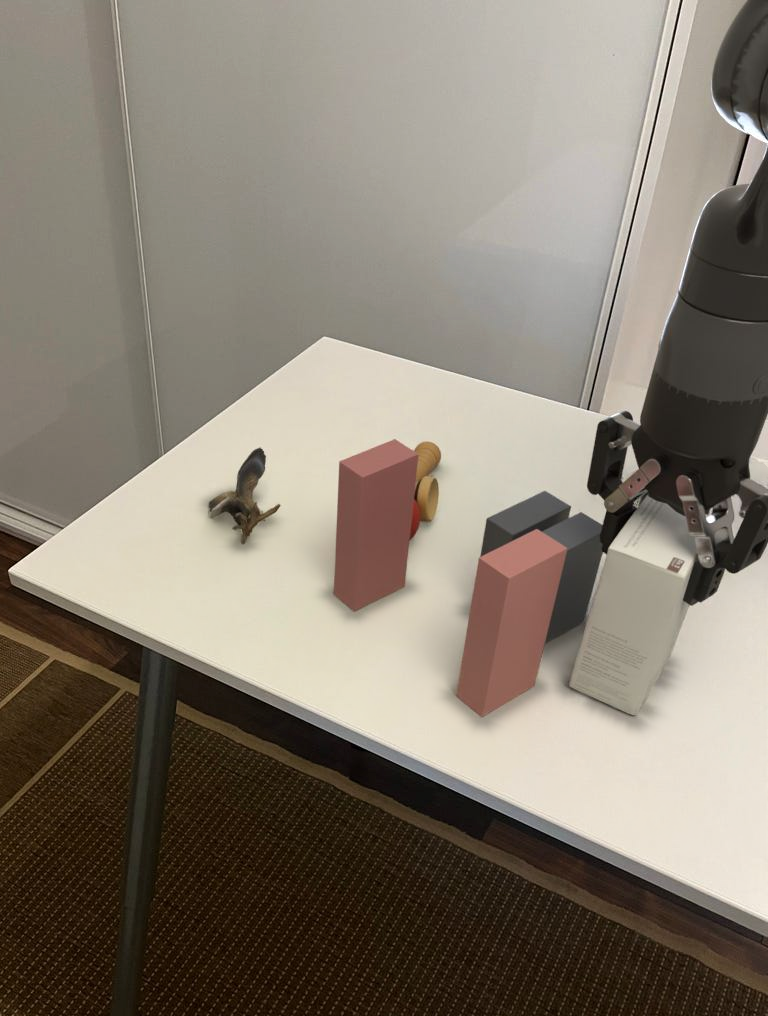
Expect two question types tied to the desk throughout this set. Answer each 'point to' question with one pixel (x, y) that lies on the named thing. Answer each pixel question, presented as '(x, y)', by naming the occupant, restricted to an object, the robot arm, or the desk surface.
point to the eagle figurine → (244, 496)
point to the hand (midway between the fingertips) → (652, 573)
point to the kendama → (425, 485)
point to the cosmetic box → (636, 608)
